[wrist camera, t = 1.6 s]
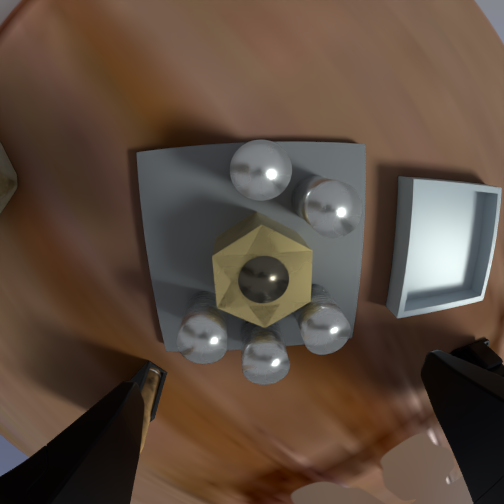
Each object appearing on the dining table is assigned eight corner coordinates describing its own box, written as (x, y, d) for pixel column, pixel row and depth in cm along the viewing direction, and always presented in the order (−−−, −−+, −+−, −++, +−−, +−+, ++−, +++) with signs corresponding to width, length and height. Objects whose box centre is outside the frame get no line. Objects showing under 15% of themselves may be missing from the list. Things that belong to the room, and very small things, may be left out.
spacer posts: (326, 340, 21) (343, 374, 17) (193, 350, 20) (186, 387, 17) (335, 144, 16) (362, 141, 13) (169, 149, 16) (151, 147, 12)
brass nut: (296, 295, 19) (309, 324, 16) (221, 300, 19) (219, 331, 16) (297, 209, 18) (313, 222, 14) (214, 213, 17) (209, 227, 14)
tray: (469, 291, 22) (482, 300, 20) (385, 306, 21) (397, 318, 19) (485, 184, 19) (501, 188, 17) (398, 176, 18) (413, 178, 16)
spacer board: (348, 332, 22) (352, 338, 21) (168, 345, 21) (166, 351, 20) (360, 144, 17) (365, 144, 17) (140, 152, 17) (136, 152, 16)
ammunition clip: (115, 422, 24) (86, 516, 13) (100, 412, 24) (66, 505, 12) (167, 372, 22) (139, 500, 11) (148, 359, 21) (109, 486, 10)
